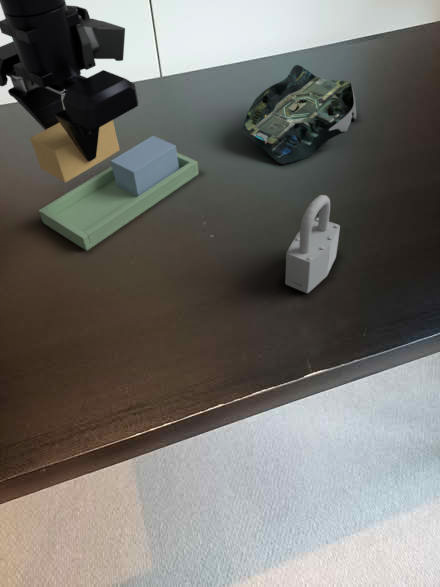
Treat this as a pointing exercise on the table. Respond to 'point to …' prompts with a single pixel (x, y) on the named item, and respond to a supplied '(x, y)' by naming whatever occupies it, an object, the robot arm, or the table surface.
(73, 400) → the table surface
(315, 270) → the padlock
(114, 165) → the blue block
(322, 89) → the model
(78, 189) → the tray
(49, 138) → the tan block
